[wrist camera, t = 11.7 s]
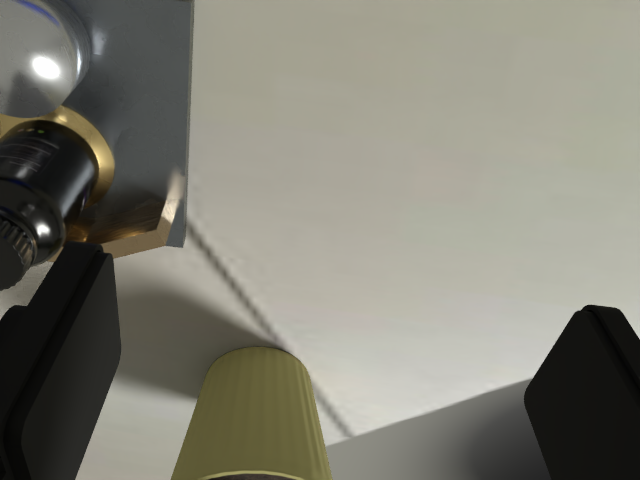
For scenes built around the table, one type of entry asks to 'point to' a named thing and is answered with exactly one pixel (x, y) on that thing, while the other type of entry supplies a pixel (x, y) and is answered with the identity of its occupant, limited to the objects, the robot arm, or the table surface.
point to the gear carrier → (109, 106)
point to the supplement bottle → (40, 193)
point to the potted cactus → (254, 422)
